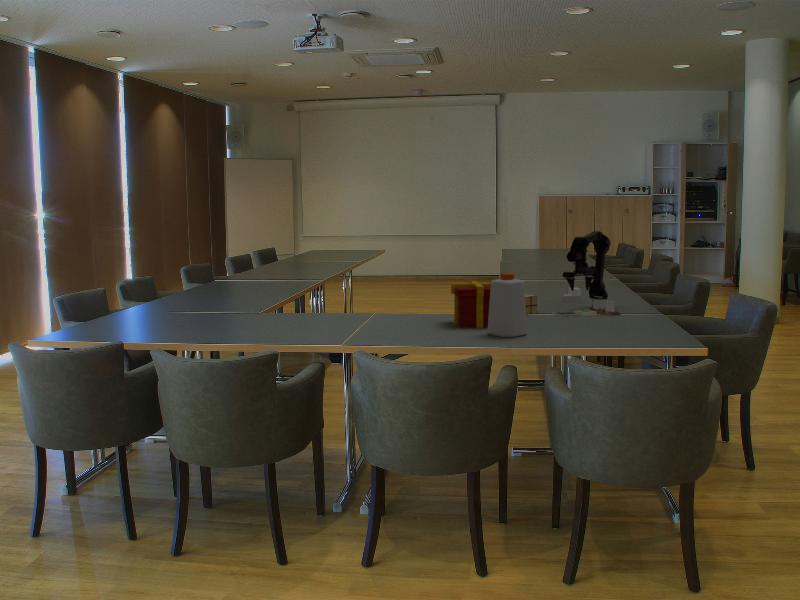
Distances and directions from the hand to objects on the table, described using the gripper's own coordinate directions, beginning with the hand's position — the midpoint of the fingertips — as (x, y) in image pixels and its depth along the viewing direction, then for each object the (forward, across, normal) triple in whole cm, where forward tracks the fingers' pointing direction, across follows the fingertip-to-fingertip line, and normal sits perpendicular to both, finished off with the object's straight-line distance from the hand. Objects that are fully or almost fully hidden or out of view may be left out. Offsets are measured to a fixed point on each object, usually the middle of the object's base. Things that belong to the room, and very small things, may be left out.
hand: (579, 290), depth 419 cm
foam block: (+14, +25, +45) cm, 53 cm away
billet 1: (+12, +10, -4) cm, 16 cm away
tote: (+13, -7, +2) cm, 15 cm away
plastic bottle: (+13, -65, -35) cm, 75 cm away
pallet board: (+13, +10, -8) cm, 18 cm away
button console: (+13, -2, -7) cm, 15 cm away
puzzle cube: (+13, -24, +16) cm, 32 cm away
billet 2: (+12, +9, -13) cm, 20 cm away
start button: (+12, -2, -7) cm, 14 cm away
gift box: (+14, -63, -3) cm, 65 cm away
